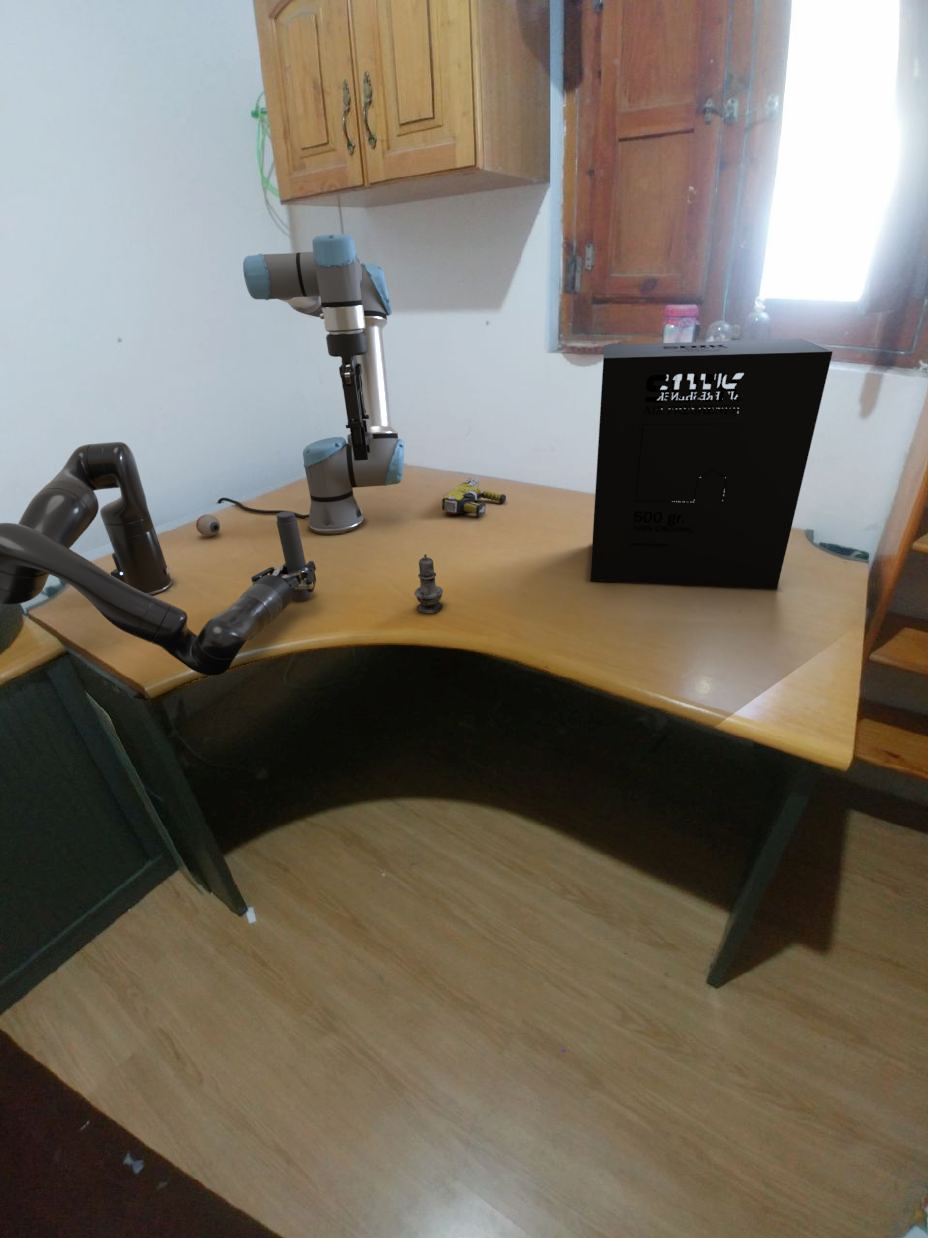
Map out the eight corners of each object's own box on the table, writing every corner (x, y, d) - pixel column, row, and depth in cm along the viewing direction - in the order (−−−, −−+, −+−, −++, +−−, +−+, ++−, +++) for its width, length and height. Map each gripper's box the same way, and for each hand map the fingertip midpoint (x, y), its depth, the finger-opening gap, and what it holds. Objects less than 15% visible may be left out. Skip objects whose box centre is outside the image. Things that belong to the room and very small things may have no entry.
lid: (345, 446, 121) (344, 438, 120) (351, 440, 126) (349, 432, 125) (370, 445, 121) (369, 437, 120) (375, 439, 125) (374, 431, 124)
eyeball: (209, 541, 163) (203, 520, 160) (195, 537, 166) (188, 517, 163) (227, 533, 168) (222, 513, 165) (213, 530, 171) (207, 510, 168)
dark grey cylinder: (291, 595, 133) (273, 512, 124) (310, 591, 134) (293, 509, 125) (294, 603, 130) (276, 518, 120) (313, 599, 131) (297, 515, 122)
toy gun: (514, 482, 184) (468, 475, 188) (491, 505, 164) (440, 497, 168) (513, 497, 186) (467, 490, 190) (490, 522, 166) (439, 513, 170)
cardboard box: (756, 549, 141) (800, 338, 118) (776, 589, 124) (832, 351, 101) (592, 544, 148) (604, 344, 126) (590, 580, 131) (603, 357, 109)
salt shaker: (440, 614, 122) (436, 560, 116) (412, 613, 123) (406, 559, 117) (447, 600, 127) (443, 548, 121) (420, 599, 128) (414, 547, 122)
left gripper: (293, 586, 113) (330, 549, 128) (226, 582, 116) (269, 547, 131) (301, 620, 117) (335, 581, 132) (235, 616, 120) (276, 578, 135)
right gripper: (331, 329, 121) (348, 446, 132) (318, 337, 105) (339, 469, 117) (369, 326, 121) (382, 444, 132) (361, 335, 105) (378, 466, 117)
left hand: (302, 564), depth 131 cm, fingers closed on dark grey cylinder, 4 cm apart
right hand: (362, 455), depth 125 cm, fingers closed on lid, 5 cm apart
